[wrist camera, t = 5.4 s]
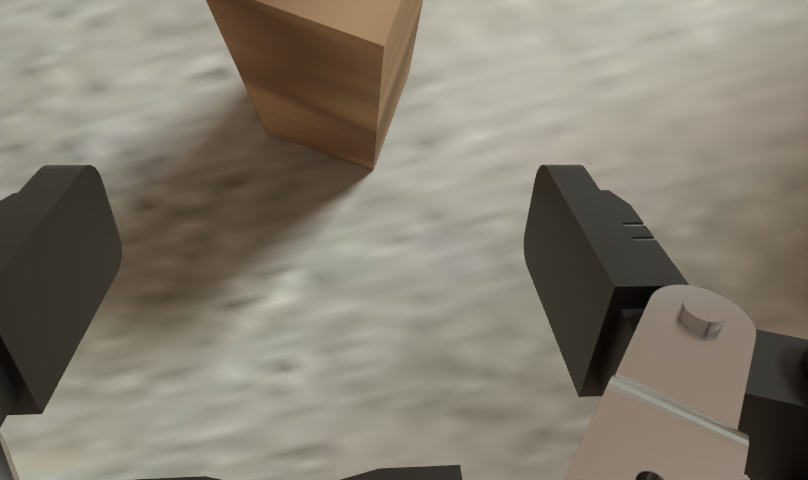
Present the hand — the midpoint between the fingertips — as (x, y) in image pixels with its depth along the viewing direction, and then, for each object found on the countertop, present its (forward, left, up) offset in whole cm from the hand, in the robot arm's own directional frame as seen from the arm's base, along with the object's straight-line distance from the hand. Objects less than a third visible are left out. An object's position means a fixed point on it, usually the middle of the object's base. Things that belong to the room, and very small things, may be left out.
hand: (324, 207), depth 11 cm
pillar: (+2, -7, -12) cm, 13 cm away
